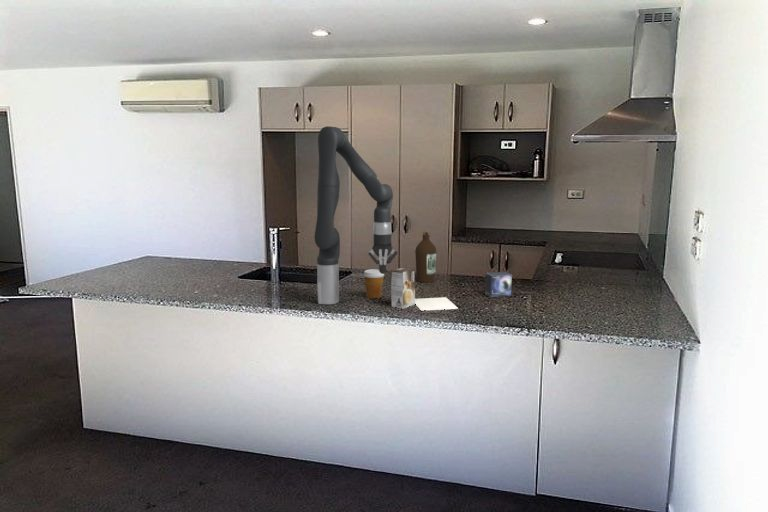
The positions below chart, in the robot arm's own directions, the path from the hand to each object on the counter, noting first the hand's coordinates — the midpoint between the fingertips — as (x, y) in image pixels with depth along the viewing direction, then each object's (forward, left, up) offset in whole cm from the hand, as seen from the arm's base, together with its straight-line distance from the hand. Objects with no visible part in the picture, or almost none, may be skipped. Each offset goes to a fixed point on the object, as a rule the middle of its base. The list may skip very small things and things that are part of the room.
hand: (382, 273), depth 245 cm
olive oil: (+30, +45, -15) cm, 56 cm away
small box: (+55, +9, -15) cm, 58 cm away
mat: (+22, 0, -15) cm, 27 cm away
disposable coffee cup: (-1, +17, -15) cm, 23 cm away
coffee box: (+9, 0, -15) cm, 17 cm away
